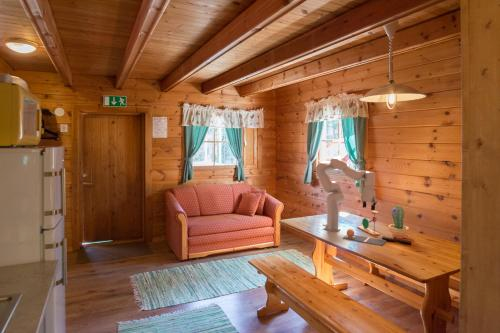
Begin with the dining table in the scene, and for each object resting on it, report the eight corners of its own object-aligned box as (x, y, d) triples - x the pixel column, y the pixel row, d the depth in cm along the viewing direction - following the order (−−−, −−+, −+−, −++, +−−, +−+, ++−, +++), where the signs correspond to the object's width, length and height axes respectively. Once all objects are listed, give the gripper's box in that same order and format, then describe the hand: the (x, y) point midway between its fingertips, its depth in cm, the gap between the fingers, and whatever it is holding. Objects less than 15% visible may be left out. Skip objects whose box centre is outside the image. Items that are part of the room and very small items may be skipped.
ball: (345, 237, 268) (345, 229, 268) (347, 235, 273) (348, 227, 272) (352, 238, 265) (353, 230, 264) (355, 236, 270) (355, 229, 269)
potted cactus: (384, 233, 280) (385, 204, 277) (403, 233, 280) (404, 204, 278) (392, 239, 264) (393, 208, 262) (412, 239, 265) (413, 208, 262)
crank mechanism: (380, 235, 275) (381, 212, 273) (373, 236, 274) (374, 212, 272) (363, 227, 299) (363, 206, 297) (356, 227, 298) (357, 206, 296)
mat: (342, 238, 266) (342, 237, 266) (347, 234, 277) (347, 233, 276) (382, 245, 249) (382, 244, 249) (386, 241, 260) (386, 240, 260)
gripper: (358, 185, 270) (357, 206, 272) (373, 189, 254) (372, 211, 256) (365, 185, 273) (364, 206, 275) (381, 188, 257) (380, 210, 259)
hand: (368, 208), depth 266 cm, fingers open, 9 cm apart
